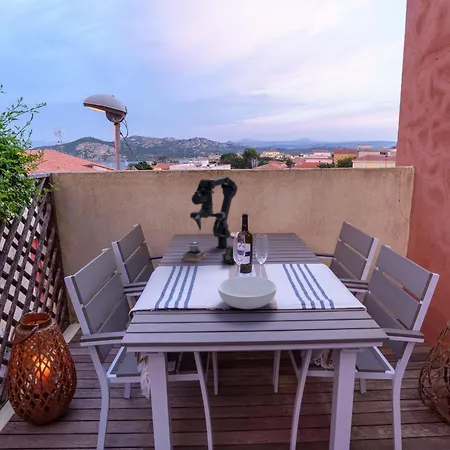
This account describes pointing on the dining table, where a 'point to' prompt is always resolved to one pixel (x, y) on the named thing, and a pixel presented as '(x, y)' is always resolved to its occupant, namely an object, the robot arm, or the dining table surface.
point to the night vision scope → (229, 255)
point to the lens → (193, 247)
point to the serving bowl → (247, 291)
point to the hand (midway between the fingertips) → (208, 230)
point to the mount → (193, 256)
